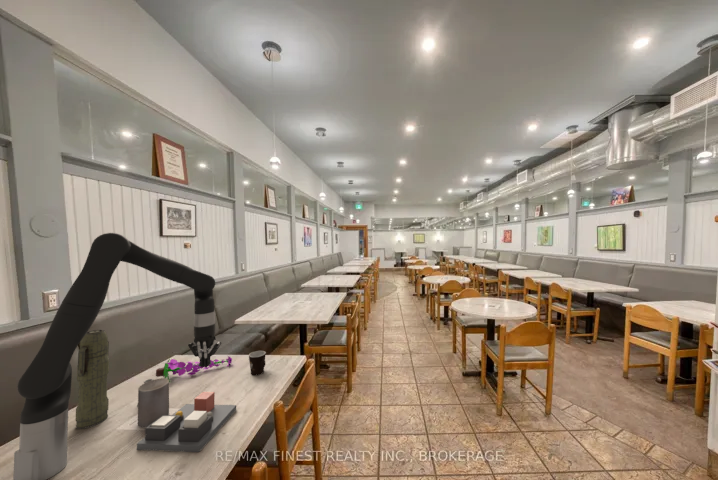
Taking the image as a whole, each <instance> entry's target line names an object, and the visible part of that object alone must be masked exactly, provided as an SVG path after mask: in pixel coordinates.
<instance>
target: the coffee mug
mask: <svg viewBox="0 0 718 480" xmlns="http://www.w3.org/2000/svg"><path fill="white" fill-rule="evenodd" d="M266 354H267V352H266V351H264V350H256V351H252V352H250V353H249V354H248V361H249V367H250V368H249V369H250V375H251V374H252V375H251V376H261V374H263V373H264V372H265V366H266Z"/></svg>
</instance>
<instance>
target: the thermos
mask: <svg viewBox="0 0 718 480" xmlns="http://www.w3.org/2000/svg"><path fill="white" fill-rule="evenodd" d="M108 337H109V336H108V334H107V332H106V330H104V329H94V330H88V332H87V333H86V334H85V336H84V337H83V339H82V340H81V341H80V343H79V350H78V353H77V367H76V380H77V382H78V388H77V389H78V390H77V391H78V395H77V406H76V408H75V422H76V424H75V428H76V429H78V430H82V429H87V428H91V427H93V426H96V425H98V424H100V423H103V422H104V421H105V420H107V419H108V416H109V415H108V411H109V398H108V374H109V372H110V358H109V346H110V345H109V342H110V341H109V339H108Z"/></svg>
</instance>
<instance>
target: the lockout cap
mask: <svg viewBox="0 0 718 480" xmlns="http://www.w3.org/2000/svg"><path fill="white" fill-rule="evenodd" d="M215 394H216V392H215V391H202V392H201V393H199V394H198V395H197V396H196V397H195V398H193V399H194V400H193V402H194V403H193V404H194V411H207V413H208V412H210V411H211V410H212V409H213V408H214V405H215V398H216V397H215Z"/></svg>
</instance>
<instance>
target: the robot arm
mask: <svg viewBox="0 0 718 480" xmlns="http://www.w3.org/2000/svg"><path fill="white" fill-rule="evenodd" d="M120 262H124V263H127V264H131V265H134V266H137V267H139V268H141V269H142V268H143V269H145V270H147V271H148V272H151V273H153V274H155V275H157V276H159V277H161V278H165V279H167V280H169V281H171V282H175V283H178V284H181V285H184V286H186V287H188V288H190V289H192V290H193V294H194V295H193V296H194V316H193V337H194V338H193V341H192V342H190V343H188V346H187V347H188V348H189V350H190V351H191V352H192V354H193V355H194V357H198V358H199V363H200V366H201V367H204V368H205V367H209V364H210V360H211V357H212V356H213V355H215V354H216V353H217V352H218V350H219V348H220V346H222V342H221V341H218V340H216V336H215V335H216V312H215V299H214V293H213V292H214V289H215V287H216V286H215V285H216V280H215V278H214V277H213V276H211V275H209V274H207V273H205V272H201V271H199V270H195V269H193V268H192V267H189V266H188V265H186V264H184V263H180V262H178V261H176V260H173V259H171V258H168V257H165V256H162V255H159V254H157V253H154V252H151V251H149V250H146V249H144V248H143V247H140V246H139V245H137V244H136V243H134V242H132V241H130V240H129V239H128V237H126V236H124V235H123V234H119V233H116V232H107V233H102V234H100V235H98V236H97V237H95V238H94V240H93V241H92V243H91V246H90V248H89V252H88V255H87V258H86V260H85V263H84V265H83V267H82V269H81V271H80V273H79V275H78V276H77V277H76V279H75V280H74V282H73V283H72V285H71V286H70V288H69V289H68V291H67V292H66V295H65V297H63V300H62V302H61V303H60V306H59V307H58V309H57V310H56V313H55V315H54V318H53V320H52V322H51V324H50V326H49V328H48V329H47V333H46V336H45V338H44V339H43V342H42V345H41V346H40V349H39V350H38V352H37V353H36V355H35V356H34V358H33V360H32V361H31V362H30V363H29V366H27V368H26V370H25V371H24V373H23V374H22V375H21V377H20V379H19V380H18V382H17V392H18V394H19V395H20V396H21V397H23V398H25V401H24V404H23V407H22V410H21V411H20V412H21V413H20V417H19V418H20V420H19V422H20V423H19V424H20V425H19V446H18V447H19V449H17V450H16V451H14V453H13V454H14V455H13V477H12V478H13V479H12V480H48V479H50V478H52V477H54V476H55V475H57V474H58V473H60V472H61V471H62V470H63V469H64V468H65V467H66V466H67V464H68V432H69V431H68V429H69V427H68V426H69V405H70V404H69V402H70V397H71V393H72V392H71V391H72V379H73V378H72V377H73V376H72V375H73V368H72V367H73V366H72V363H71V360H72V358H73V355H74V354H75V351H76V349H77V347H78V345H80V341H81V340H82V339H83V337H84V336H85V334H86V333H87V332H89V331H90V328H91V327H92V325H94V322H95V320H96V318H97V317H98V315H99V313H100V311H101V309H102V307H103V305H104V302H105V300H106V296H107V294H108V290H109V288H110V287H109V286H110V282H111V279H112V276H113V274H114V272H115V270H116V269H117V267H118V266H119V264H120Z"/></svg>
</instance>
